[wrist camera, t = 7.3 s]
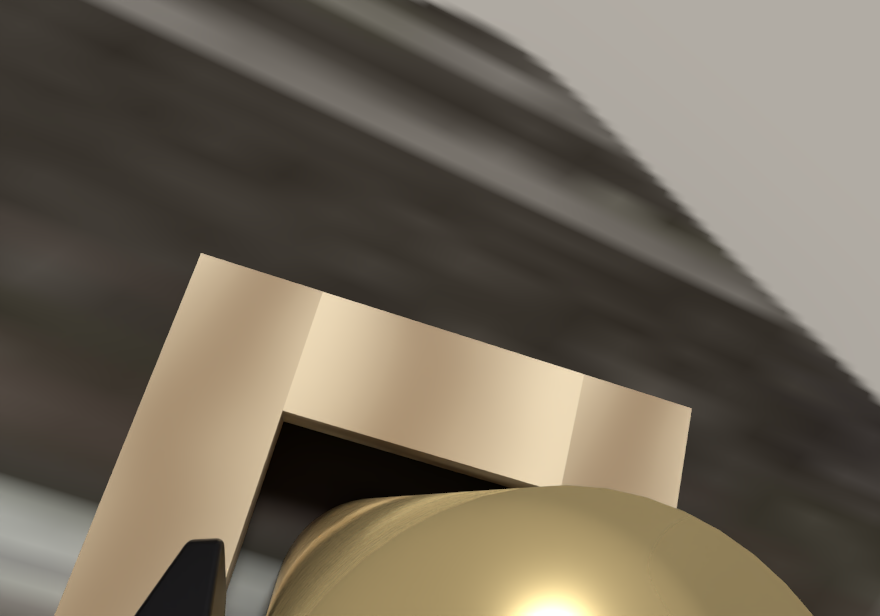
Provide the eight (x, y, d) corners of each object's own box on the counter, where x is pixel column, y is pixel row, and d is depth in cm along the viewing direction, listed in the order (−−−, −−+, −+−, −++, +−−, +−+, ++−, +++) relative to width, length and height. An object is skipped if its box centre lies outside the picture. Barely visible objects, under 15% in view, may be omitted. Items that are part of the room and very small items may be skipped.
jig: (652, 418, 19) (691, 408, 17) (560, 957, 15) (598, 1020, 13) (211, 280, 18) (201, 253, 16) (-8, 833, 14) (-55, 884, 12)
